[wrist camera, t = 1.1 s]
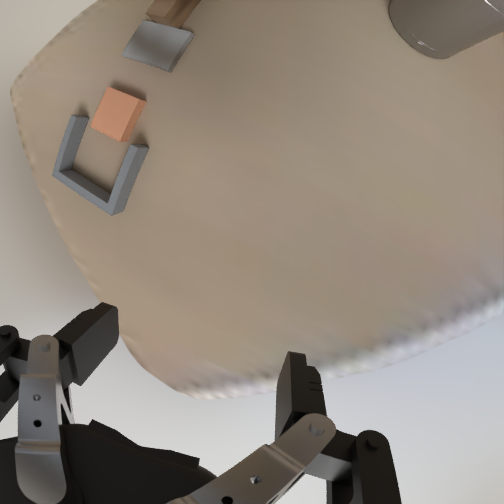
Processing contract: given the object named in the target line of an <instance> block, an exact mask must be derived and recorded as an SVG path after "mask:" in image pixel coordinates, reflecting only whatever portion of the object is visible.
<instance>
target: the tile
mask: <svg viewBox="0 0 504 504" xmlns="http://www.w3.org/2000/svg"><path fill="white" fill-rule="evenodd" d="M146 102H147V101H144V100H142V99H139V98H137V97H135V96H132V95H130V94H127V93H125V92H122V91H120V90H117V89H115V88H111V87H107V89H106V91H105V93H104V96H103V98H102V100H101V102H100V104H99V107H98V109H97V111H96V113H95V116H94V118H93V121H92V123H91V126H90V127H92V128H94V129H96V130H98V131H100V132H102V133H104V134H106V135H108V136H110V137H112V138H114V139H116V140H118V141H119V142H127V141H128V139H129V137H130V135H131V132H132V130H133V128H134V126H135V124H136V122H137V120H138V118H139V115H140V113H141V111H142V109H143V107H144V105H145V103H146Z"/></svg>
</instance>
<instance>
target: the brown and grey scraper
mask: <svg viewBox="0 0 504 504" xmlns="http://www.w3.org/2000/svg"><path fill="white" fill-rule="evenodd" d="M200 1H201V0H155V1H154V2H153V4H152V5H151V6H150V8H149V9H148V11H147V12H146V14H147V15H148V16H149V17H150V18H152V19H153V20H154V21H155V22H156V23H154V22H149V21H145V20H143V21H142V23H141V24H140V26H139V27H138V29H137V30H136V32H135V34H134V35H133V37H132V38H131V40H130V42H129V43H128V45H127V47H126V48H125V50H124V52H123V53H122V56H124V57H126V58H129V59H133V60H136V61H139V62H142V63H145V64H148V65H151V66H154V67H157V68H160V69H163V70H165V71H168V72H171V71H172V70H173V68H174V66H175V65H176V63H177V61H178V60H179V58H180V57H181V55H182V53H183V52H184V50H185V49H186V47H187V46H188V44H189V43H190V41H191V40H192V38H193V37H194V35H193V33H192V32H189V31H185V30H182V29H180V28H181V26H182V25H183V23H184V22H185V21H186V19H187V18H188V16H189V15H190V14H191V12H192V11H193V10H194V8H195V7H196V6H197V4H198V3H199V2H200Z"/></svg>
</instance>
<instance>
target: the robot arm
mask: <svg viewBox="0 0 504 504" xmlns="http://www.w3.org/2000/svg"><path fill="white" fill-rule="evenodd" d="M389 15H390V18H391V21H392V23H393V25H394V27H395V29H396V30H397V32H398V33H399V34H400V36H401V37H402V38H403V39H404V40H405V41H406V42H407V43H408V44H409V45H411V46H412V47H413V48H414V49H416V50H418V51H419V52H421V53H423V54H425V55H427V56H429V57H432V58H437V59H445V58H449V57H451V56H453V55H455V54H457V53H459V52H461V51H463V50H465V49H467V48H469V47H471V46H473V45H475V44H477V43H479V42H481V41H484V40H486V39H488V38H490V37H492V36H494V35H497V34H499V33H501V32H503V31H504V0H392V2H391V3H390V7H389ZM118 337H119V325H118V309H117V307H115V306H113V305H110V304H107V303H104V302H102V303H100V304H99V305H98V306H96V307H95V308H94V309H89V310H86V311H83V312H81V313H80V314H79V315H78V316H77V317H76V318H74V319H73V320H72V321H71V322H70V323H68V324H67V325H66V326H64V327H63V328H62V329H61V330H60V331H58V332H57V333H56V334H55V335H53V336H50V335H40V336H37V337H35V338H34V339H32V341H30V340H26V339H22V338H20V337H19V333H18V330H17V329H16V328H15V327H13V326H10V325H4V326H1V327H0V366H1V365H2V364H3V365H4V368H5V371H4V372H3V373H2V375H0V422H1V420H2V419H3V418H4V417H5V415H6V414H7V413H8V412H9V411H10V409H11V408H12V407H13V406H14V404H15V403H16V402H17V401H18V436H17V437H13V438H8V439H3V440H0V504H275V503H276V502H277V501H278V500H279V499H280V498H281V497H282V496H283V495H284V494H285V493H286V492H287V491H289V490H290V489H291V487H293V486H294V485H295V484H296V483H297V482H298V481H299V480H300V479H301V478H302V477H303V476H304V475H305V474H309V475H312V476H315V477H319V478H322V479H325V480H326V483H327V504H401V498H400V492H399V487H398V482H397V477H396V472H395V467H394V463H393V459H392V454H391V450H390V445H389V442H388V440H387V438H386V437H385V436H384V435H382V434H381V433H379V432H377V431H373V430H366V431H363V432H361V433H360V434H359V435H358V436H354V435H350V434H347V433H344V432H341V431H339V430H337V429H336V427H335V424H334V423H333V421H332V420H331V419H329V418H328V417H327V415H326V408H325V401H324V395H323V392H322V391H323V389H322V385H321V377H320V374H319V372H318V371H317V370H316V368H315V367H313V366H307V363H306V355H305V354H302V353H296V352H290V351H289V352H288V353H287V355H286V358H285V361H284V364H283V367H282V370H281V373H280V375H279V379H278V383H277V392H276V393H277V395H276V422H275V423H276V424H275V442H273V443H272V444H271V445H267V444H265V445H263V446H262V447H260V448H258V449H257V450H256V451H254V452H253V453H252V454H250V455H249V456H248V457H246V458H245V459H244V460H242V461H241V462H239V463H238V464H237V465H235V466H234V467H232V468H231V469H229V470H228V471H226V472H225V473H223V474H222V475H220V476H219V477H216V476H215V475H214V474H213V473H211V472H210V471H208V470H207V469H205V468H203V467H201V466H199V460H200V458H197V457H193V456H189V455H185V454H182V453H178V452H175V451H172V450H163V449H155V448H148V447H142V446H139V445H137V444H136V443H134V442H133V441H131V440H129V439H128V438H127V437H125V436H124V435H122V434H121V433H119V432H118V431H117V430H115V429H112V428H110V427H108V426H105V425H104V424H101V423H99V422H97V421H95V420H93V419H92V421H91V422H90V423H89V425H84V424H75V422H74V417H73V409H72V400H71V391H70V386H69V385H70V384H71V383H72V382H74V383H76V384H77V385H79V386H81V385H82V384H83V383H84V382H85V380H87V378H88V377H89V376H90V375H91V373H92V372H93V371H94V370H95V369H96V368H97V366H98V365H99V364H100V362H102V360H103V359H104V358H105V357H106V356H107V355H108V353H109V352H110V351H111V350H112V349H113V348H114V347H115V345H116V344H117V341H118Z"/></svg>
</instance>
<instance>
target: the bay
mask: <svg viewBox="0 0 504 504" xmlns="http://www.w3.org/2000/svg"><path fill="white" fill-rule="evenodd" d="M88 120H89V118H88V117H86V116H81V115H71V118H70V120H69V123H68V126H67V129H66V131H65V134H64V137H63V140H62V143H61V146H60V149H59V153H58V156H57V159H56V163H55V166H54V170H53V174H52V176H53V177H55V178H56V179H58V180H59V181H60V182H62V183H63V184H65V185H66V186H68V187H69V188H71V189H72V190H73V191H75V192H76V193H78V194H79V195H81V196H82V197H84V198H85V199H87V200H88V201H90V202H91V203H93V204H94V205H96V206H97V207H99V208H100V209H102V210H103V211H105V212H106V213H108V214H109V215H111V216H112V215H115V214H117V213H120V212H122V211H124V208H125V205H126V202H127V200H128V197H129V195H130V192H131V189H132V187H133V184H134V182H135V179H136V177H137V175H138V172H139V170H140V167H141V165H142V163H143V160H144V158H145V156H146V154H147V152H148V149H149V148H148V147H146V146H144V145H143V144H130V147H129V149H128V151H127V154H126V156H125V159H124V161H123V163H122V166H121V168H120V171H119V174H118V176H117V179H116V182H115V184H114V187H113V190H112V193H111V194H110V193H108V192H107V191H105V190H103V189H102V188H100V187H99V186H97V185H95V184H94V183H92V182H91V181H89V180H87V179H86V178H84V177H83V176H81V175H80V174H78V173H76V172H75V171H73V170H72V169H71V168H72V165H73V162H74V159H75V156H76V153H77V150H78V147H79V144H80V141H81V138H82V136H83V133H84V130H85V128H86V125H87V123H88Z"/></svg>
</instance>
